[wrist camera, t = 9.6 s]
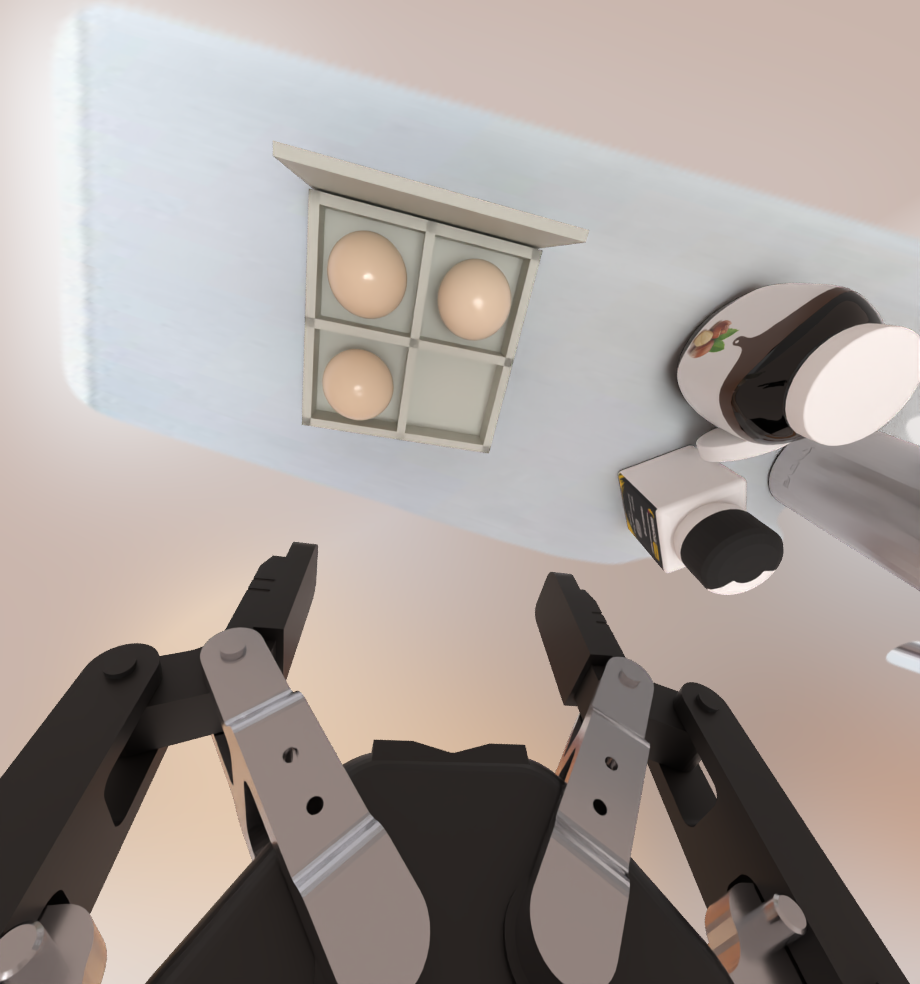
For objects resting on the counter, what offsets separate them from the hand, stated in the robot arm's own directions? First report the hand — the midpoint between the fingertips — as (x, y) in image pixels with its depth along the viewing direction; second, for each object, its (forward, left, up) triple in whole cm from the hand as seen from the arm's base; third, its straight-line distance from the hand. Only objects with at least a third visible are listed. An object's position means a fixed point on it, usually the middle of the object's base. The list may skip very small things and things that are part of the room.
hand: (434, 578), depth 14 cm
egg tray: (+1, -5, -21) cm, 21 cm away
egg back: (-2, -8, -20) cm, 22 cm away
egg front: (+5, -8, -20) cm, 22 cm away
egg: (+4, -1, -20) cm, 21 cm away
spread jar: (-25, -7, -21) cm, 33 cm away
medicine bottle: (-24, +4, -21) cm, 32 cm away
